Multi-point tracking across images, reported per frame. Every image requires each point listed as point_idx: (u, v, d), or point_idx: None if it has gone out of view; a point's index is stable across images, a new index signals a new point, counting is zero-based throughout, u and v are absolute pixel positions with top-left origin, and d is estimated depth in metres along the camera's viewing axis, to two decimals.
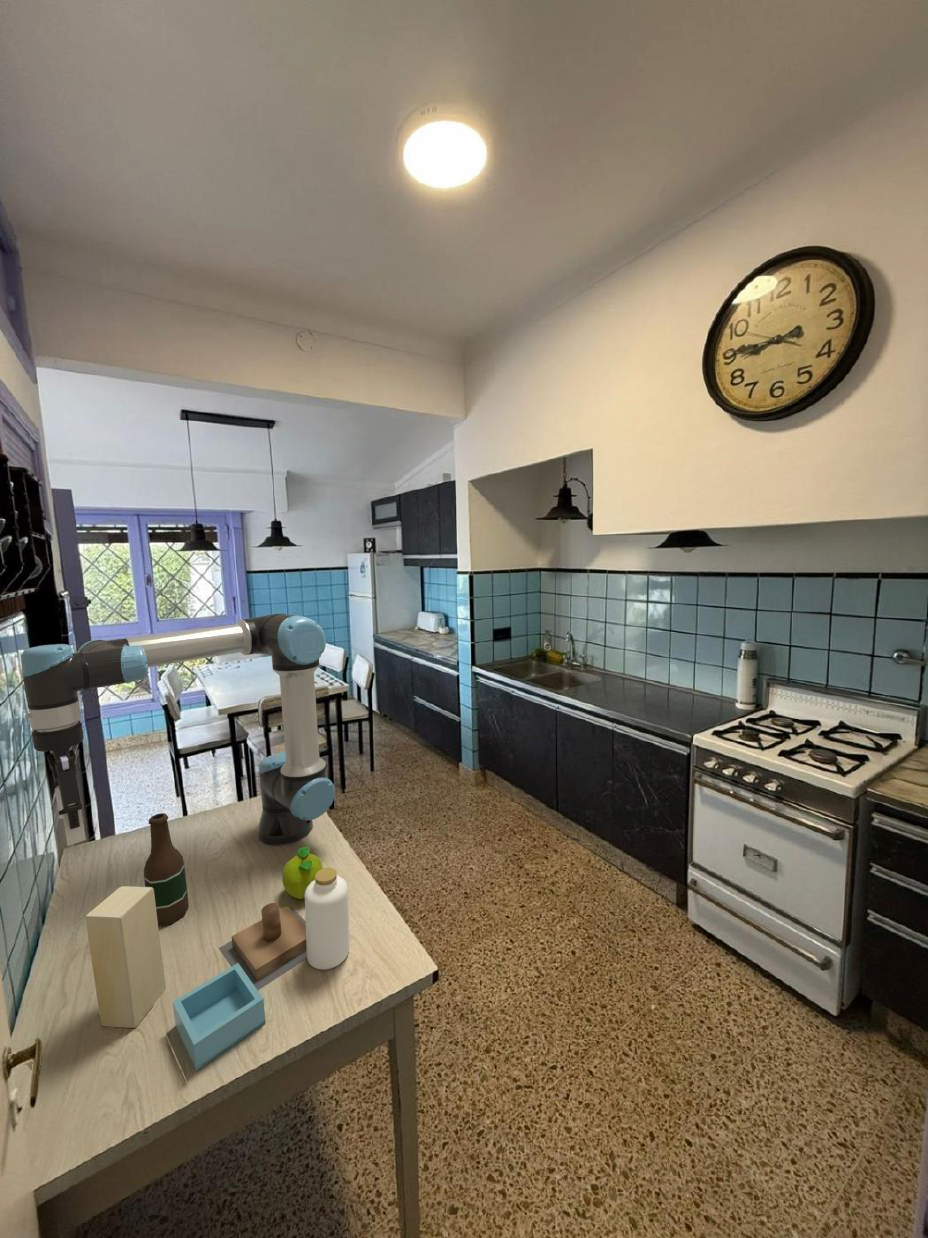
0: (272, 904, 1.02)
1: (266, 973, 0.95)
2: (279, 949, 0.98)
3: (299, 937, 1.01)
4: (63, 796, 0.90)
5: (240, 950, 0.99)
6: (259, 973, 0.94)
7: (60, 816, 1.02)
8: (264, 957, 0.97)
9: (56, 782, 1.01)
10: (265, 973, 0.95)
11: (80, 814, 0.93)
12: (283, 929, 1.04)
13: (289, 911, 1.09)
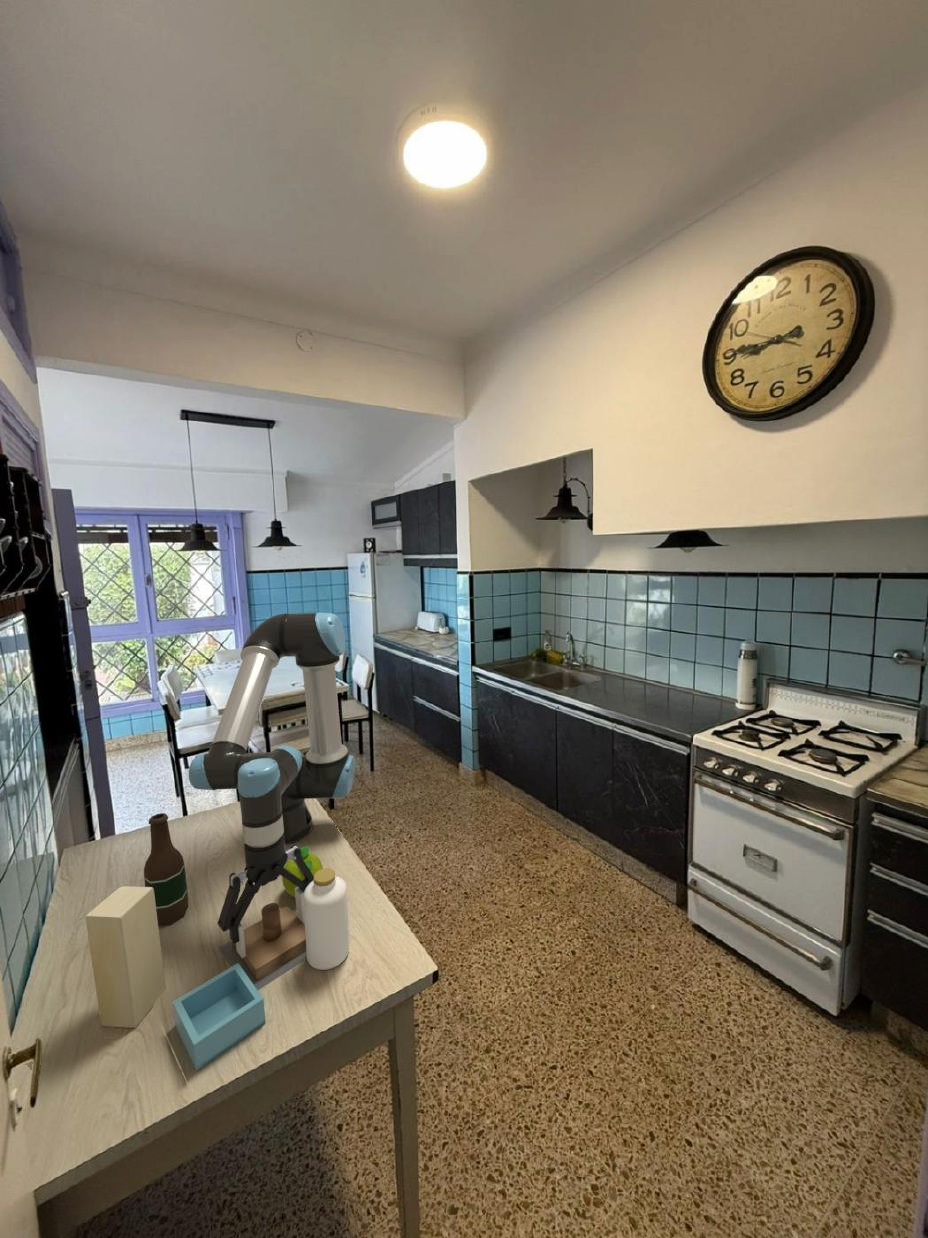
0: (272, 904, 1.02)
1: (266, 973, 0.95)
2: (279, 949, 0.98)
3: (299, 937, 1.01)
4: (222, 909, 0.95)
5: None
6: (259, 973, 0.94)
7: (297, 914, 1.07)
8: (264, 957, 0.97)
9: None
10: (265, 973, 0.95)
11: (239, 933, 0.96)
12: (283, 929, 1.04)
13: (289, 911, 1.09)
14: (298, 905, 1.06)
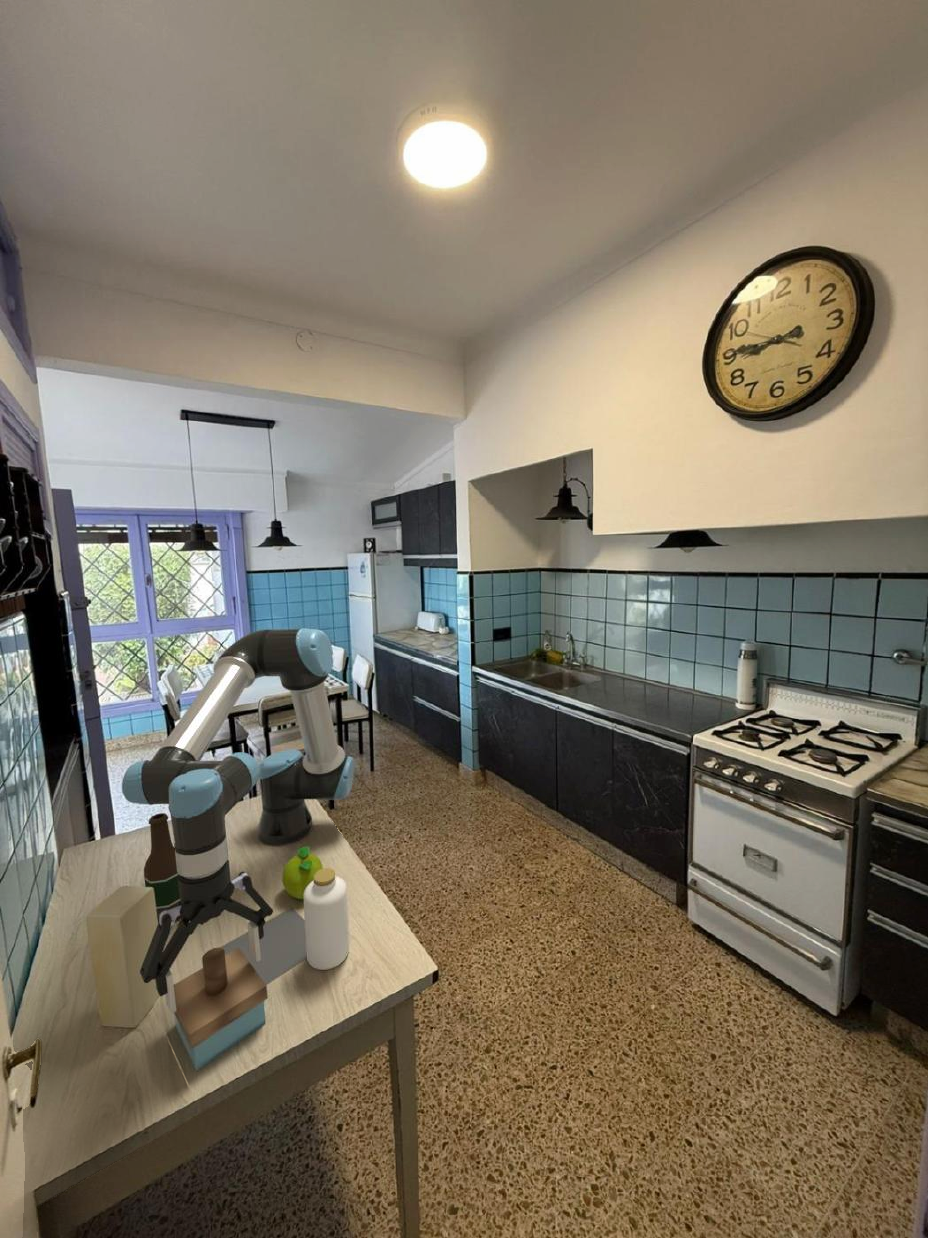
0: (216, 949, 0.85)
1: (204, 1038, 0.78)
2: (222, 1006, 0.81)
3: (248, 990, 0.84)
4: (146, 954, 0.77)
5: None
6: (194, 1039, 0.77)
7: (250, 952, 0.90)
8: (202, 1017, 0.79)
9: None
10: (202, 1038, 0.78)
11: (167, 983, 0.78)
12: (230, 978, 0.86)
13: (240, 954, 0.91)
14: (251, 941, 0.89)
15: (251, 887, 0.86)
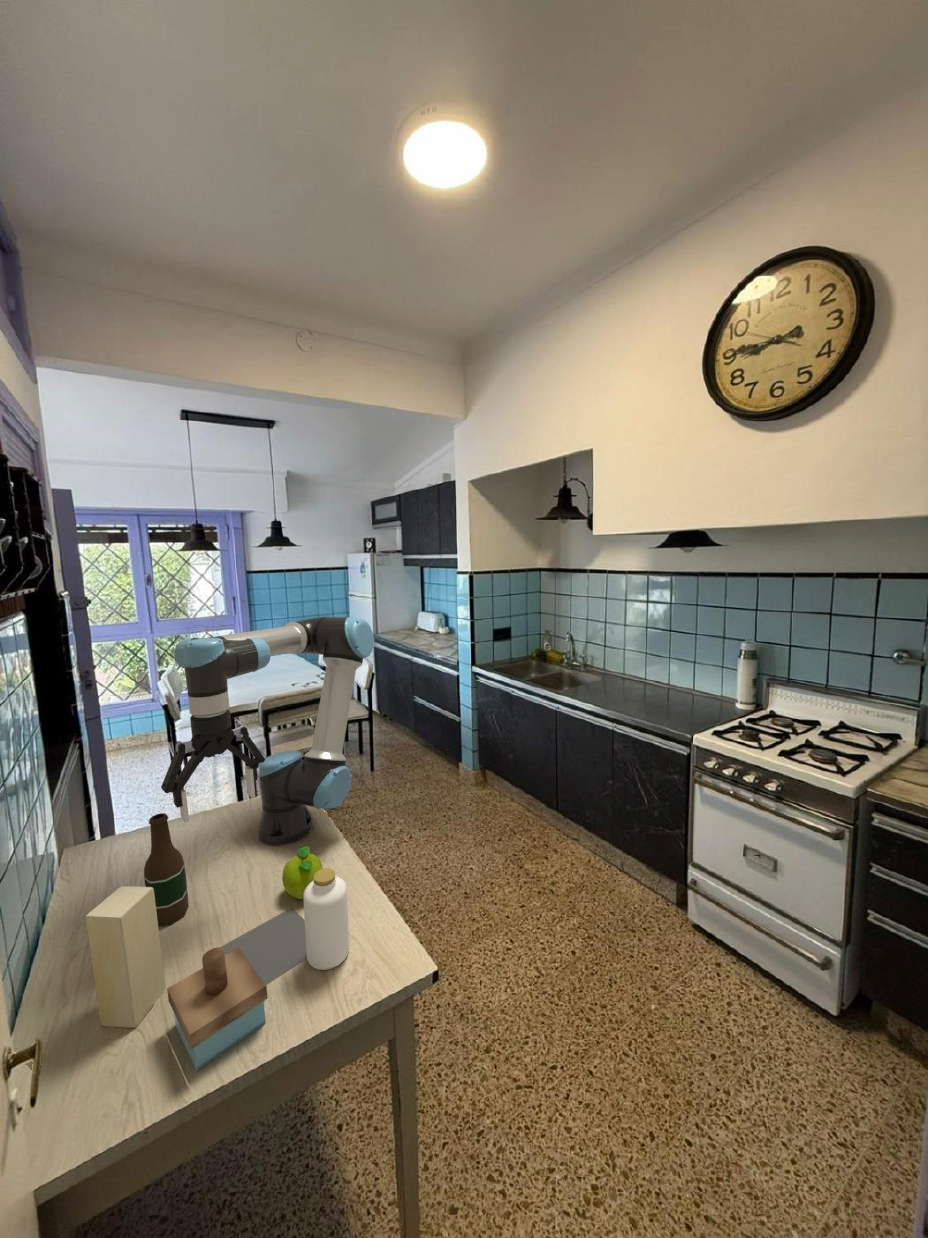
0: (216, 949, 0.85)
1: (204, 1038, 0.78)
2: (222, 1006, 0.81)
3: (248, 990, 0.84)
4: (166, 774, 1.00)
5: (175, 1007, 0.82)
6: (194, 1039, 0.77)
7: (247, 792, 1.12)
8: (202, 1017, 0.79)
9: None
10: (202, 1038, 0.78)
11: (182, 797, 1.01)
12: (230, 978, 0.86)
13: (240, 954, 0.91)
14: (248, 782, 1.11)
15: (247, 736, 1.09)
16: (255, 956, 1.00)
